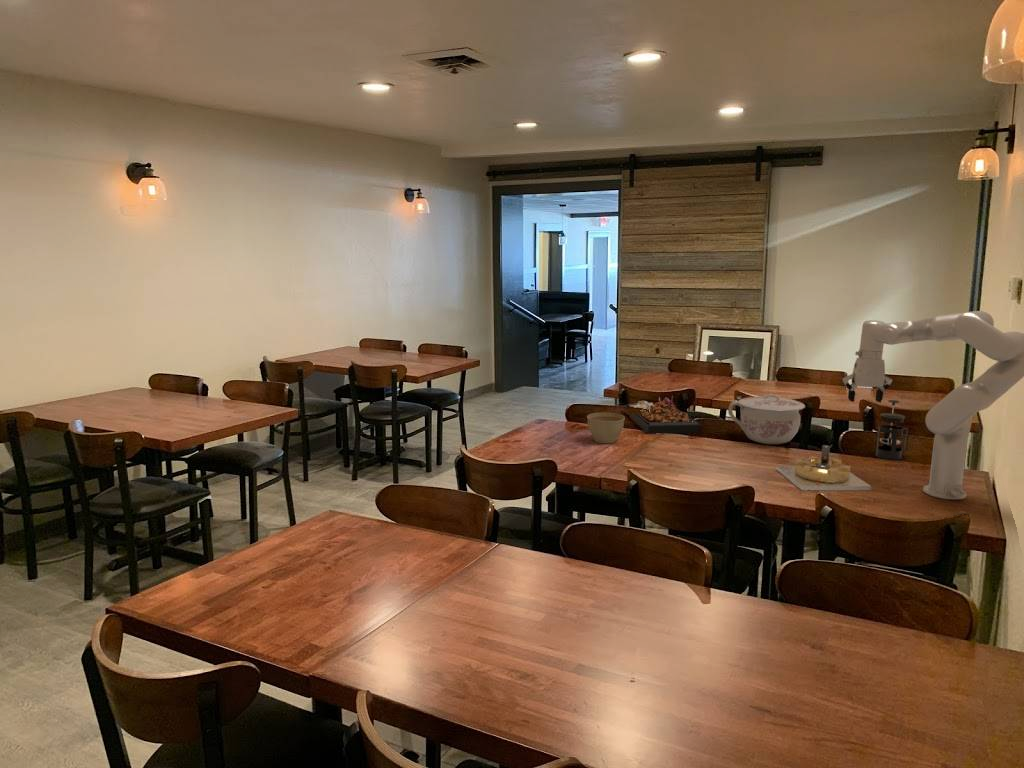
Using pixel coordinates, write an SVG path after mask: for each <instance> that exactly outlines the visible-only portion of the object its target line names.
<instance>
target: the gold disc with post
mask: <svg viewBox="0 0 1024 768" xmlns="http://www.w3.org/2000/svg"><path fill="white" fill-rule="evenodd" d="M830 449H831V446H830V445H826V444H823V445H821V455H820V456H821V457H820V459H819V457H817V456H813V455H812V456H808V459H798V458H797V459H795V465H794V466H795V473H796V474H797V475H798V476H800V477H802V478H805V479H808V480H812V481H818V482H827V483H837V482H844V481H847V480H848V479H849V474H850V473H851V472H850V471H851V465H845V464H844V463H843V464H842V460H841V459H837V458H834V459H831V460H830V451H831V450H830Z"/></svg>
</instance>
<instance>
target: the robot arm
mask: <svg viewBox="0 0 1024 768" xmlns="http://www.w3.org/2000/svg"><path fill="white" fill-rule="evenodd" d="M994 325H995V321H994V319H993V316H992V315H991V314H989V312H986V311H983V310H974V311H967V312H966V311H965V312H957V313H950V314H941V315H935V316H932V317H929V318H925V319H924V318H923V319H915V320H913V319H912V320H907V321H905V320H904V321H896V322H891V323H885V321H882V320H874V319H873V320H865V321H864V322H863V323H862V326H861V327H862V328H861V334H860V344H859V349H858V351H855V356H857V357H856V359H855V362H854V366H853V369H852V373H850V374H849V375H847V376H845V377H843V378H842V381H843V383H844V386H845V388H847V390H848V395H847V399H848V401H850V402H851V403H854V402H855V398H856V389H857V388H858V387H862V388H877V390H876V393H875V402H877V403H882V401H883V398H884V393H885V392H886V390H887V389H888V388H889V387H890V385H891V384H892V382H893V379H892V378H890V377H888V376H886V365H885V359H883V353H884V345H889V346H890V345H893V346H894V345H899V344H905V343H912V342H922V341H936V342H944V341H954V340H962V341H963V342H964V343H966V344H968V345H969V346H971V347H973V349H975V350H976V351H978V352H980V353H981V354H982V355H984V356H986V357H987V358H988V359H991V360H994V361H995V363H994V364H992V365H991V366H990V367H988V368H987V369H986V370H985V371H984V372H983V373H982V374H981V375H980V376H978V377H977V378H976V379H974V380H973V381H971V382H967V383H963V384H961V385H958V386H957V387H955V388H953V389H952V390H951V391H950V392H949V393H948V394H947V395H945V397H943V398H941V400H940V401H938V402H937V403H936V404H935V405H934V406H933V407H931V409H929V411H928V412H927V413H926V415H925V425H926V427H927V429H928V430H929V431H930V432H931V433H933V434H934V438H933V446H932V453H931V454H932V455H931V462H930V464H931V465H930V473H929V482H928V485H924V486H923V487H922V492H924V493H925V494H926V495H928V496H931V497H933V498H939V499H943V500H953V501H955V500H959V501H960V500H963V499H966V498H967V492H966V491H964V490H963V487H964V485H963V479H964V470H965V462H966V453H967V447H968V441H969V435H970V431H971V427H972V423H973V416H974V415H975V414H977V413H978V412H981V411H984V410H987V409H988V408H989V407H991V406H992V405H993V404H994V403H995V402H996V401H997V400H998V399H1000V398H1001V397H1002V396H1003V395H1004V394H1006V393H1007V392H1008V391H1010V389H1011V388H1012V387H1014V386H1015V385H1017V383H1019V381H1021V380H1022V379H1023V378H1024V333H1023V332H1020V331H1008V332H1003V331H1001V330H1000V329H998V328H996V327H995V326H994ZM850 380H851V384H850V382H849V381H850Z"/></svg>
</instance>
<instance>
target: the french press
mask: <svg viewBox="0 0 1024 768" xmlns="http://www.w3.org/2000/svg"><path fill="white" fill-rule="evenodd" d="M887 402H889V403H892V404H891V405H892V411H891V412H884V413H880V414H879V416H880V418H881V419H883V420H884V421H885V422H887V423H889V424H880V425H878V431H877V432H878V433H877V443H876V452H875V456H876V458H879V459H884V460H890V461H891V460H892V461H893V460H894V461H896V460H897V461H899V460H902V458H903V456H902V451H907V450H908V444H909V443H908V442H909V433H910V429H909V428H908V427H902V426H900V425H899V426H898V425H893V424H902V423H904V422H905V421H904V419H906V416H905V415H904V414H903V415H902V414H899V413H894V409H895V407H894V406H895V405H896V404H898V403H900V401H899V400H896V399H889V400H887ZM905 431H906V432H905ZM881 432H883V438H881ZM904 432H905V440H903V439H904ZM898 434H900V439H898ZM903 441H904V448H903ZM880 444H882V445H880ZM898 446H899V447H898Z"/></svg>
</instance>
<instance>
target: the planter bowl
mask: <svg viewBox="0 0 1024 768" xmlns="http://www.w3.org/2000/svg"><path fill="white" fill-rule="evenodd" d="M625 418H626V417H625V416H624V415H622V414H619V413H612V412H594V413H590V414H589V413H588V415H587V416H586V419H587V427H588V430H589V432H590V434H591V436H592V437H593V441H594V442H595V443H599V444H614V443H616V442H617V439H618V438H619V437H620V435H621V433H622V431H623V429H624V425H625V420H626V419H625Z"/></svg>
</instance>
